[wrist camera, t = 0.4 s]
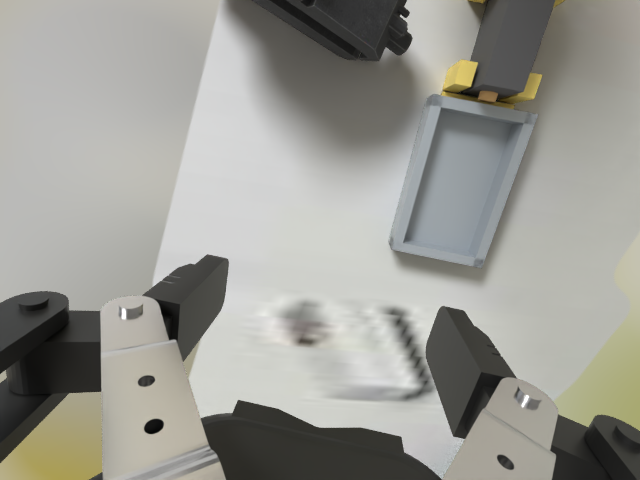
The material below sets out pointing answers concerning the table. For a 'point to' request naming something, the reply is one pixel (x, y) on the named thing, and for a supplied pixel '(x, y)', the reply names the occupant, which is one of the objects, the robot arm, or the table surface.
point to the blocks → (464, 74)
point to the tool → (348, 24)
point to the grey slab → (507, 47)
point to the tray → (459, 179)
